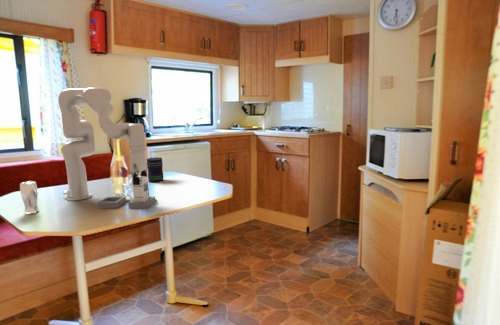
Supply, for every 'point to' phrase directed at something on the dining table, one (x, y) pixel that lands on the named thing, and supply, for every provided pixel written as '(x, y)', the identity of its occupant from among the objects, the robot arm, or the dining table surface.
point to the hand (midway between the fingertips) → (140, 182)
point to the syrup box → (141, 190)
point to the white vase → (29, 195)
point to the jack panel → (118, 201)
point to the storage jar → (155, 170)
